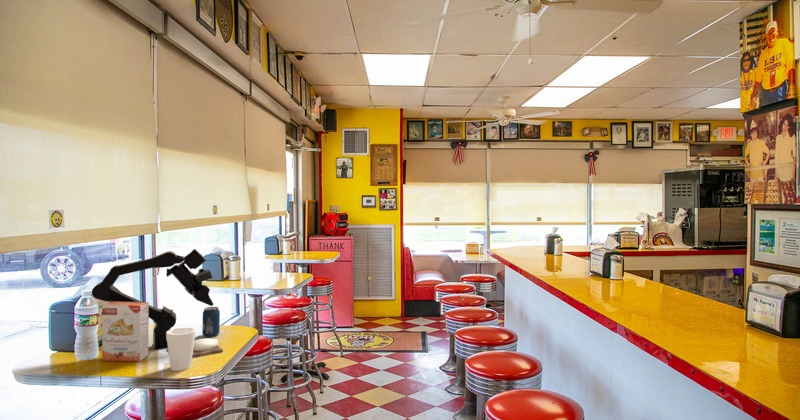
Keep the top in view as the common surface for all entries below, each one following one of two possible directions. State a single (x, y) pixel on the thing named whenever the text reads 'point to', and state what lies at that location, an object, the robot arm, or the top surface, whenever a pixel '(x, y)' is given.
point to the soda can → (211, 322)
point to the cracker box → (125, 331)
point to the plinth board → (217, 350)
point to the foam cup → (180, 347)
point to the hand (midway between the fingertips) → (209, 302)
